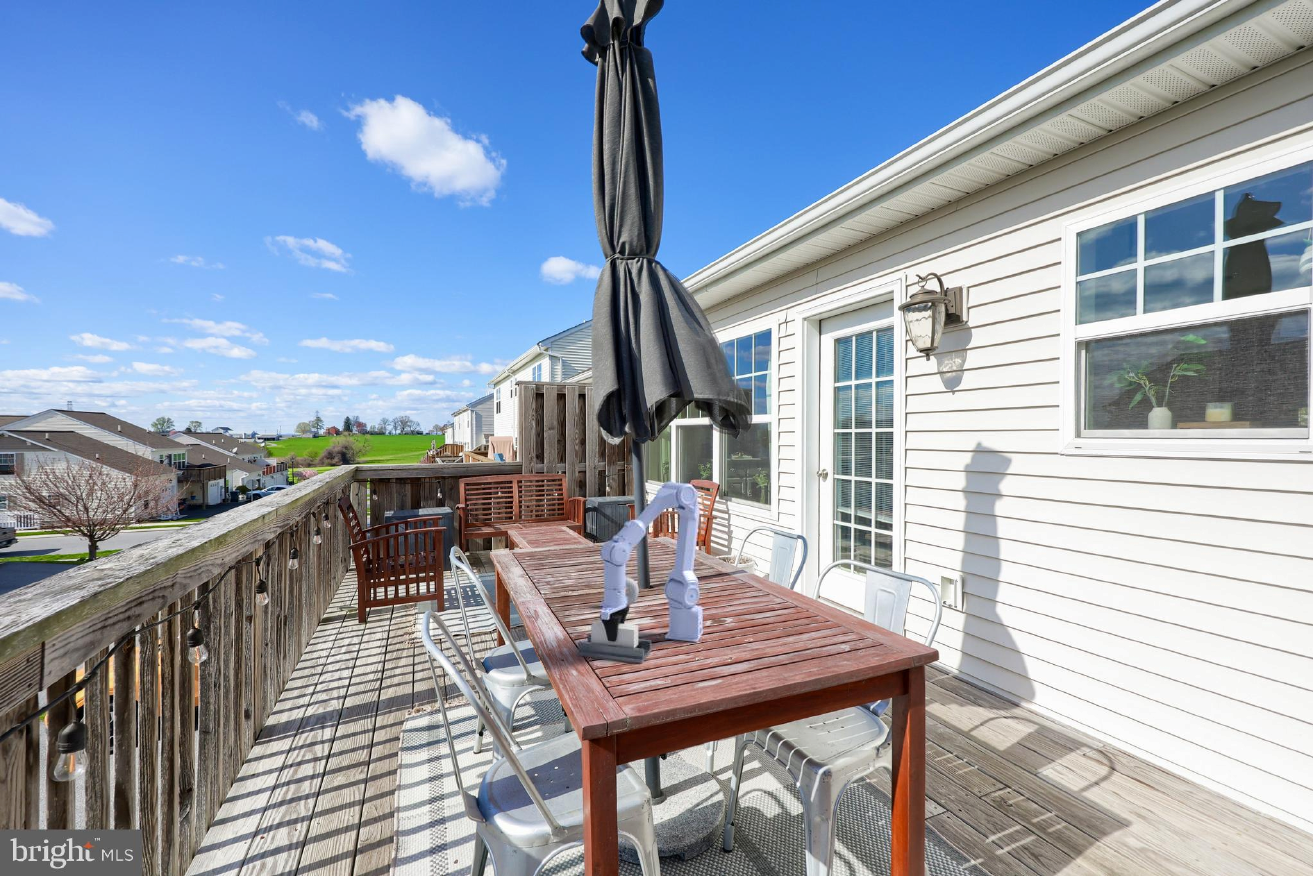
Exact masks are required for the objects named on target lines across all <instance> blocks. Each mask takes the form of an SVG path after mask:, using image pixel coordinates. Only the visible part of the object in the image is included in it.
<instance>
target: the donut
mask: <svg viewBox="0 0 1313 876" xmlns="http://www.w3.org/2000/svg"><path fill="white" fill-rule="evenodd" d="M626 589H628V593H627V594H626V596H628V603H627V604H626V607H629V606H631V605H632V604H634V603H635V602H636V601H637V599H638V597H639V589H640V588H639V586H638V583H637V582H636V581H635V580H634V579H633V578H631V577H629V576H626Z"/></svg>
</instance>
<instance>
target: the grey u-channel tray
mask: <svg viewBox="0 0 1313 876" xmlns="http://www.w3.org/2000/svg"><path fill="white" fill-rule="evenodd" d="M652 651H653V646H652V640H651V639H642V638H638V645H637V646H636V647H635V648H632V647H624V646H615V645H607V644H599V643H591V632H588V633H587V641H578V642H577V650H576V656H579V657H585V658H586V657H587V658H595V659H602V660H610V661H616V662H617V661H618V662H624V663H633V664H634V663H635V664H641V665H643V663H644V661H645V660H647V659H646V658H647V657H648V656H649V655H650V654H651V652H652Z"/></svg>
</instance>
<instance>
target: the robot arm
mask: <svg viewBox="0 0 1313 876" xmlns="http://www.w3.org/2000/svg"><path fill="white" fill-rule="evenodd" d="M698 495H699V491H697V489H695V487H694V486H693V485H692V484H691V483H680V482H674V481H666V482H664V483H663V484H662V486H661V487H660V488H659V489H657V491H656V494H655V496H654V497H653V499H651V501H650V502H649V503H648V504H647V506H646V507H645V509H644V510H643V511H642V512H641V513H640V515H639V516H638V517H637V518H636V519H630V520H629V521H625V523H623V525H624V526H623V527H622V529H621V530H620V531H619V532H617V534H615V535H613V537H612V539H610V540H608V541H606V542H604V544H603V545H602V547H601V550H600V551H599V557H600V558H601V559H602V561H603V598H604V599H603V600H602V601H601V602H600V603H599V606H601V607H602V609H601V611H600V614H599V619H600V621H602V623H603V625H604V627H605V631H606V635H607V639H608V641H613V642H615V641H616V639H617V633H618V626H619V623H620V624H625V621H626V618H627V616H628V613H629V611H630V607H629V606H626V604H627V603H628V596H626V595H627V594H626V591H627V590H626V589H627V587H626V577H627V576H626V567H627V565H626V563H627V562H629V560H630V557H631V553H632V551H633V549H634V548H635V547H636V546H637V545H638V544H639V542H640V541H642V539H643V538H644V537H645V536H646V533H647V531H646V530H647V529H646V528H647V527H648V526H649V525H650V524H652V522H653V521H655V520H656V519H657V517H659V516H660V515H661V514H662V513H663V512H664V511H665V510H667V509H674V510H675V511H676V512H677V514H679V524H678V531H677V532H678V533H677V541H676V550H675V558H674V559H675V560H674V565H673V566H674V567H673V568H674V569H673V570H672V571H670V572H669V574H668V577H667V581H666V582H665V584H664V589H663V590H664V591H663V593H664V596H665V597H666V598H667V601H668V603H669V604H668V607H669V609H668V611H669V613H668V615H669V616H668V617H669V618H668V619H669V620H668V624H669V625H668V630H669V631H668V632H667V633H666V634H665V636H664V639H668V640H676V641H677V640H678V641H685V642H686V641H687V642H695V643H698V642H699V639H701V636H703V633H704V630H703V625H704V624H703V623H704V622H703V619H704V618H703V617H704V616H703V615H704V614H703V607H702V606H700V605H697V603H698V601H699V599H700V597H701V596H700V595H701V594H700V593H701V592H700V589H699V580H698V578H697V576H696V574H695V573H694V567H695V566H694V565H695V559H696V558H695V557H696V556H695V554H696V550H697V549H696V548H697V539H698V531H699V523H700V505H699V501H698V498H699V496H698Z"/></svg>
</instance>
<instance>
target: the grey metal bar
mask: <svg viewBox="0 0 1313 876" xmlns="http://www.w3.org/2000/svg"><path fill="white" fill-rule="evenodd" d="M590 633H591V643H599V644H607V645H615V646H624V647H632V648H635V647H636V646H637V645H638V639H639V625H637V624H628V623H624V624H620V623H619V626H618V633H617V639H616V641H615V642H613V641H608V639H607V635H606V631H605V627H604V625H603V623H602V621H601V620H596V621H594V622H593V623H592V624H590Z"/></svg>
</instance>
